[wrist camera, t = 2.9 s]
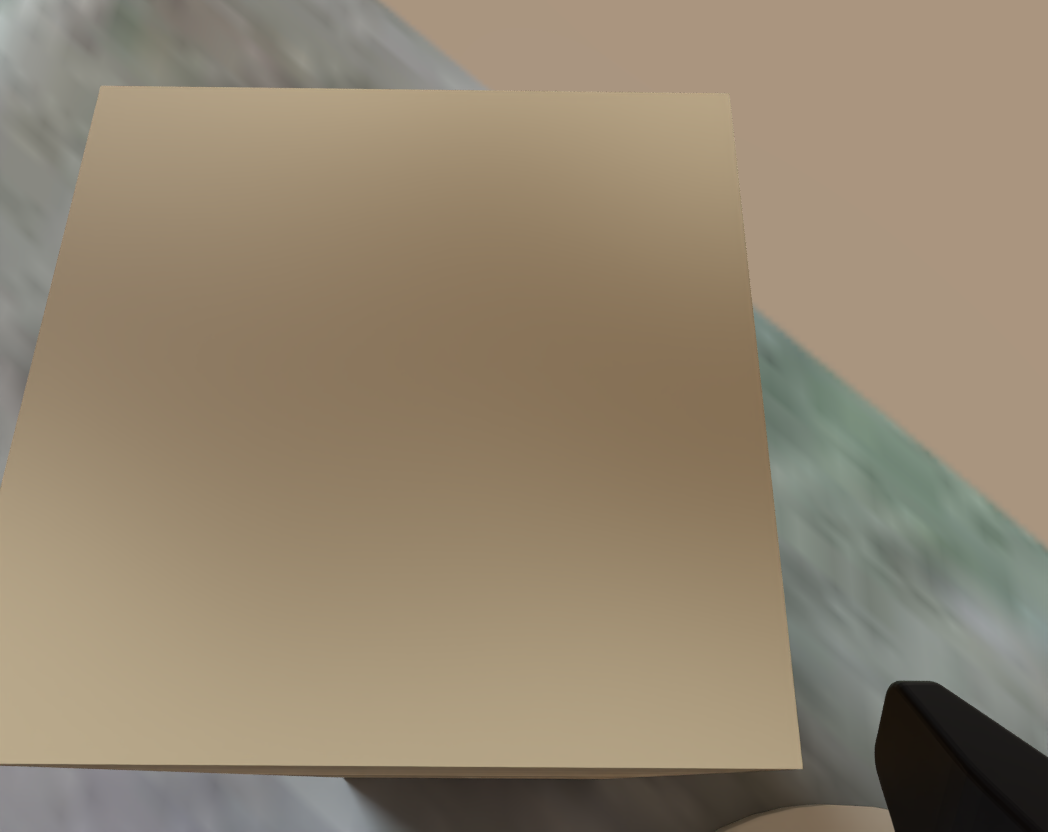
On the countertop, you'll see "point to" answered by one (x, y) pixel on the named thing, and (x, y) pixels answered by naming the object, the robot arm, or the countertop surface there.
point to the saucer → (815, 820)
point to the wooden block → (397, 446)
